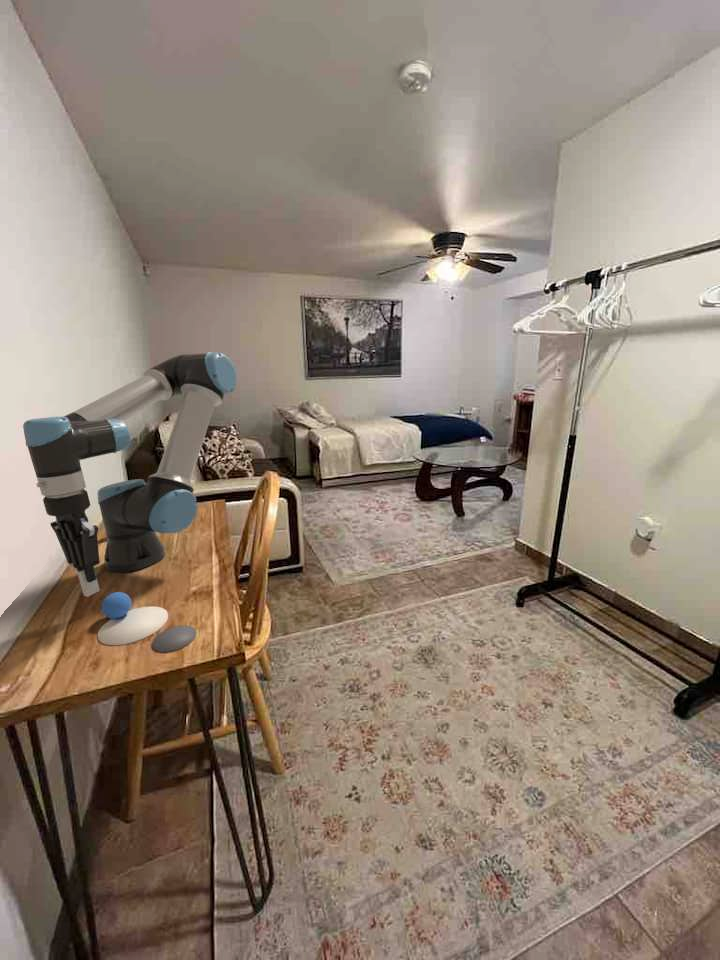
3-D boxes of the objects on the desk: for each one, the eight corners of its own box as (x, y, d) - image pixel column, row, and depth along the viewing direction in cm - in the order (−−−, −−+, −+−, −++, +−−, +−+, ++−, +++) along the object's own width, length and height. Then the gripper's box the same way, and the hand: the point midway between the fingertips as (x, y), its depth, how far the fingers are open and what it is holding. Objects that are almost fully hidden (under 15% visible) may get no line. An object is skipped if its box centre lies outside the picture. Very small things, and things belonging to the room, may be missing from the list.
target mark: (120, 608, 88) (120, 608, 88) (178, 605, 89) (178, 604, 89) (82, 647, 76) (82, 646, 76) (150, 643, 76) (150, 642, 76)
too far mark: (163, 627, 81) (163, 626, 81) (202, 625, 81) (202, 624, 81) (144, 653, 73) (143, 652, 73) (187, 651, 74) (186, 650, 74)
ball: (133, 589, 85) (137, 614, 85) (123, 587, 89) (126, 611, 89) (105, 598, 81) (109, 624, 81) (95, 595, 84) (99, 620, 84)
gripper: (26, 495, 81) (56, 596, 87) (63, 501, 75) (92, 608, 82) (65, 485, 87) (90, 579, 94) (102, 490, 82) (126, 590, 88)
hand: (91, 592), depth 88 cm, fingers closed
